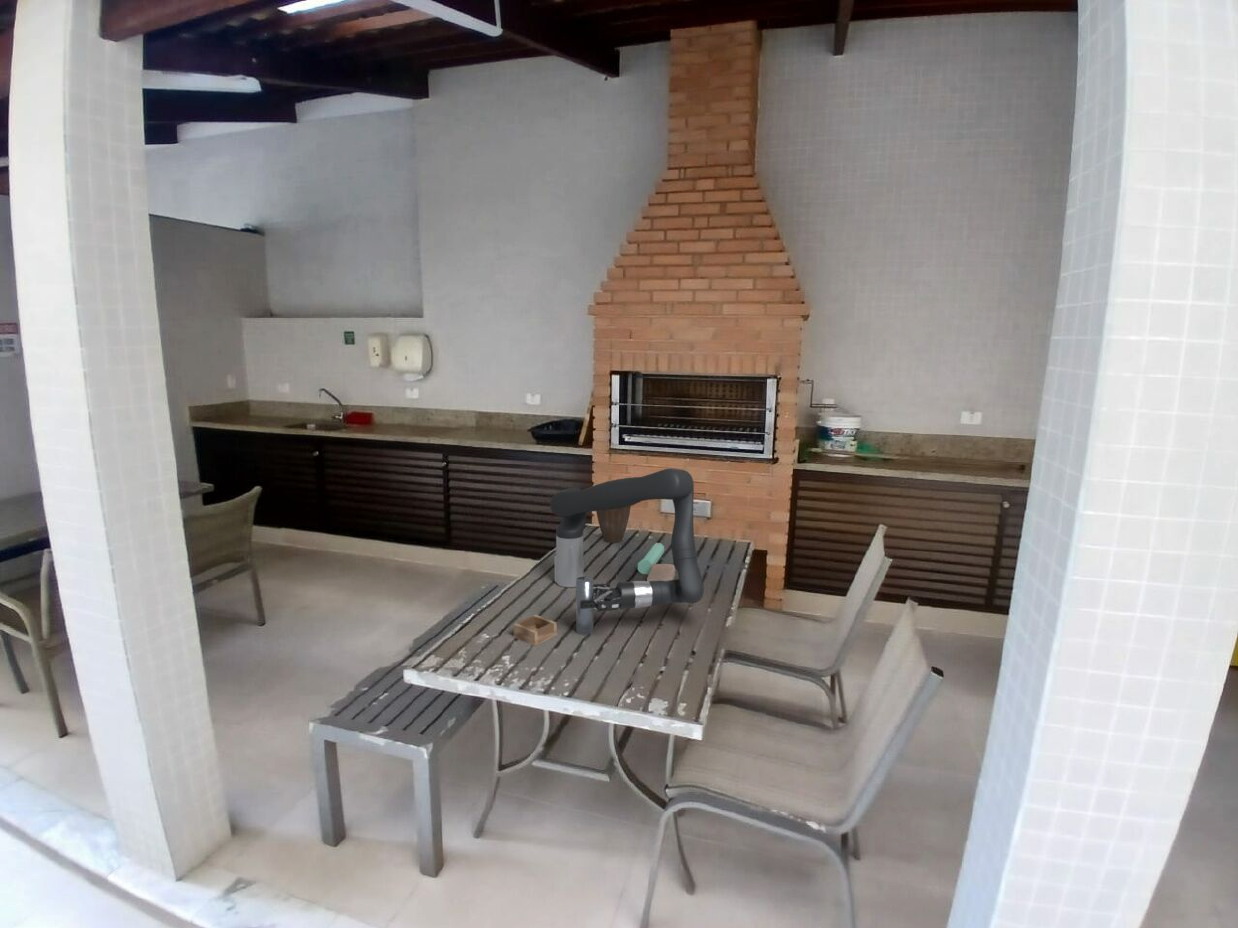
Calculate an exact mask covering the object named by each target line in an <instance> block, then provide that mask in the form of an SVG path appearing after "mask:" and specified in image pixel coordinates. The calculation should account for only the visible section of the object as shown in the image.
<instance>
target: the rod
mask: <svg viewBox="0 0 1238 928" xmlns="http://www.w3.org/2000/svg"><path fill="white" fill-rule="evenodd" d="M593 584H594V578H593V577H590V576H583V577H579V578H577V579H576V589H575V600H576V605H575V606H576V607H575V609H576V610H575V613H576V617H575V618H576V622H575V623H576V625H575V627H576V628H575V629H576V633H577V634H579V635H582V636H587V635H588V636H589V635H591V634H593V633H594V608H587V609H581V608H580V601H581V600H593V601H594V597H593Z"/></svg>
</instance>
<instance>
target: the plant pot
mask: <svg viewBox="0 0 1238 928" xmlns="http://www.w3.org/2000/svg"><path fill="white" fill-rule="evenodd" d="M595 512H596V516H597V517H596V518H597V521H598V526H599V529H600V531H601V534H602V538H603V540H604V541H605V542H606V543H612V544H616V543H621V542H622V541H623V540H624V536H625V533H626V530H627V526H628V523H629V519H630V513H631V506H629V507H626V508H620V509H614V510H604V511H595Z"/></svg>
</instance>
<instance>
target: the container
mask: <svg viewBox="0 0 1238 928" xmlns="http://www.w3.org/2000/svg"><path fill="white" fill-rule="evenodd" d="M664 553H665V546H664V545H663V544H662V543H661V542H655V543H654V544H653V545H652V547H651V548H650V549H649V550H648V551H647V553H646V554H645V556H644V557H643V558H642V559H641V560H640V561H639V562H638V563H637V571H638V573H640V574H642V575H649V573H650V571H651V568H652V565H653V564H658V563H657V562H658V561H659V560H660V559H661V557H662V555H663V554H664Z"/></svg>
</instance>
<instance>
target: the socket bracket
mask: <svg viewBox="0 0 1238 928" xmlns="http://www.w3.org/2000/svg"><path fill="white" fill-rule="evenodd" d="M557 629H558V628H557V622H556V621H553V620H551V619H548V618H546V617H542V616H540V615H538V614H534V615H533V614H532V616H529V617H527V618H525V619H522V620H520V621H518V622H516V623H514V624H513V635H512V637H513V638H516V639H518V640H520V641H523V642H525V643H528V644H529V645H532V646H534V647H535V646H538V645H540V644H541V643H544V642H545V641H547V640H549V639H552V638H553V637H555V636H558V635H559V633H557Z"/></svg>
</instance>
